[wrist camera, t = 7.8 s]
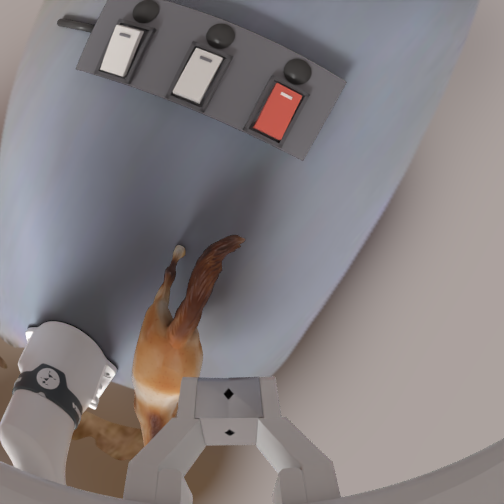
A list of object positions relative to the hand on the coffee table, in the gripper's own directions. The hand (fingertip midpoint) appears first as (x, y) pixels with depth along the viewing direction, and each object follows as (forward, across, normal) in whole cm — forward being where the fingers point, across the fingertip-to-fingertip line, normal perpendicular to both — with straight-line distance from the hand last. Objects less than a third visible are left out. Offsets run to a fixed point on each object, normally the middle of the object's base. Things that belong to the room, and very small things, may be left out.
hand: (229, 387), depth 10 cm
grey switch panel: (+29, +6, -14) cm, 33 cm away
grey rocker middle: (+25, +3, -11) cm, 27 cm away
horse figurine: (+29, +5, +20) cm, 36 cm away
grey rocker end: (+25, +11, -14) cm, 31 cm away
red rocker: (+25, -4, -7) cm, 26 cm away
